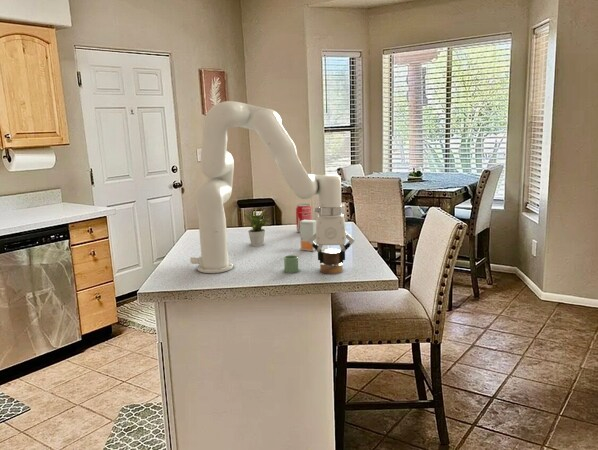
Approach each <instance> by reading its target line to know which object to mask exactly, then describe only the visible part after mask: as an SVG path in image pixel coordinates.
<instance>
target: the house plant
mask: <svg viewBox="0 0 598 450" xmlns="http://www.w3.org/2000/svg"><path fill="white" fill-rule="evenodd" d="M266 210H267V209H266V208H265V209H264V208H263V209H261V210H260V211H259V212H258V214H257V206H256V207H255V210H254V211H253V214H252V212H249V213H248V211H247V212H246V211H245V212H244V215H245V216H246V218H247V219H248V220H249V222H250V224H249V223H248V222H243V223H242V225H243V226H244V227H245V226H246V225H247V226H249V227H250V228H251V229H248V231H247V232H248V236H249V240H250V246H252V247H261V246H263V245H264V243H265V235H266V230H265V229H264V228H263V227H264V226H266V227H268V225H270V226H271V224H270V222H267V221H269V220H271V218H265V219H263V217H265V215H267V214H268V213H270V211H268V212H267V213H266V214H265V212H266ZM240 213H241V214H242V212H241V211H239V214H240Z"/></svg>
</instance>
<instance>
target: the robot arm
mask: <svg viewBox="0 0 598 450" xmlns="http://www.w3.org/2000/svg"><path fill="white" fill-rule="evenodd" d="M237 127H239V128H243V129H246V130H252V131H255V133H256V134H257V136H258V137H259V138H260V141H262V143H263V145H264V146H265V148H266V149H267V151H268V152H269V154H270V155H271V157H272V158H273V160H274V162H275V164H276V166H277V168H278V171H279V172H280V174H281V176H282V178H283V179H284V182H286V184H287V185H288V187H289V188H290V190H291V192H293V194H294V195H295V196H296V197H297V198H298V199H301V200H310V199H311V198H313V197H314V196H316V195H318V207H315V208H314V212H315V213H318V214H317V216H316V220H317V222H316V233H315V234H314V235H313V236H312V237H311V238H310V239H309V240H308V242H309V243H310V244H311V245H312V246H313V248H315V249H316V250H315V251H316V252H317V261H319V264H321V263H322V251H323V249H322V248H323V246H339V247H340V250H341V263H342V264H344V261H345V260H346V251H347V250H348V249H349V248H350V247H351V245H353V244H354V243H355V239H354V237H352V236H351V235H350V234H349V233H348V232H347V228H346V219H345V215H344V214H343V213H342V211H343V210H342V178H341V176H340V175H339V174H323V175H321V174H313V173H308V172H307V171H306V169H305V167H304V166H303V164H302V162H301V160H300V158H299V156H298V152H297V151H298V150H297V146H296V144H295V142H294V141H293V139H292V138H291V136H290V135H289V133H288V132H287V130H286V129H285V127H284V126H283V124H282V118H281V116H280V114H279V113H278V112H277V111H276V110H275V109H272V108H266V107H262V106H258V105H253V104H250V103H245V102H240V101H233V100H226V101H221V102H218V103H216V104H215V105H213V106H212V107H211V108H210V109H208V111H207V112H206V114H205V116H204V120H203V127H202V139H201V152H200V162H199V167H200V171H201V173H202V174H203V175H204V176H205V177H207V181H204V182H202V183H201V184H200V185H199V186H198V187H197V188H196V190H195V194H194V202H195V207H196V211H197V219H198V228H199V229H198V230H199V231H198V232H199V243H200V244H199V245H200V256H199V257H193V256H191V257H190V259H189V260H190V261H189V262H190V263H191V264H192V265H196V264H197V265H198V266H197V271H198V272H199V273H204V274H219V273H224V272H228V271H230V270H232V269H233V268H234V264H233V263H232V262H231V261H229V249H228V248H229V247H228V234H227V218H226V213H225V208H224V207H225V206H224V204H225V203H227V202H228V201H229V200H230V198H231V196H232V194H233V182H234V173H235V172H234V171H235V161H234V157H233V155H232V154H231V153H230V151H228V150H227V149H228V129H229V128H237ZM314 239H316V243H317V244H318V245H317V244H316V243H314V241H313V240H314ZM347 240H348V242H347Z"/></svg>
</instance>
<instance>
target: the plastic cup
mask: <svg viewBox="0 0 598 450" xmlns="http://www.w3.org/2000/svg"><path fill="white" fill-rule="evenodd" d="M283 268H284V270H283V271H284V272H285V273H287V274H295V273H298V272H299V256H298V255H293V254H291V255H285V256H284V257H283Z"/></svg>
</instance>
